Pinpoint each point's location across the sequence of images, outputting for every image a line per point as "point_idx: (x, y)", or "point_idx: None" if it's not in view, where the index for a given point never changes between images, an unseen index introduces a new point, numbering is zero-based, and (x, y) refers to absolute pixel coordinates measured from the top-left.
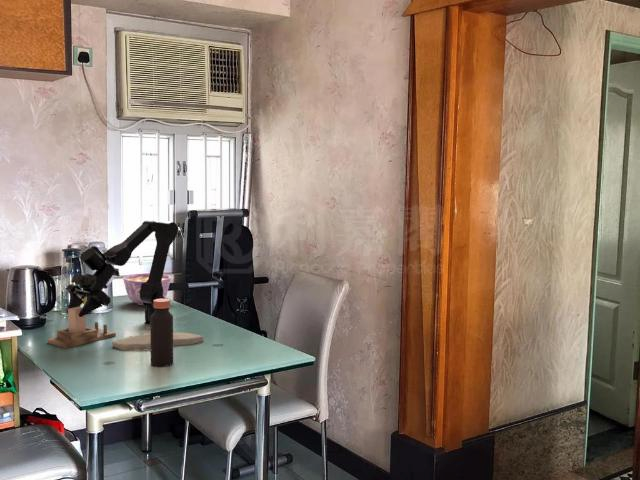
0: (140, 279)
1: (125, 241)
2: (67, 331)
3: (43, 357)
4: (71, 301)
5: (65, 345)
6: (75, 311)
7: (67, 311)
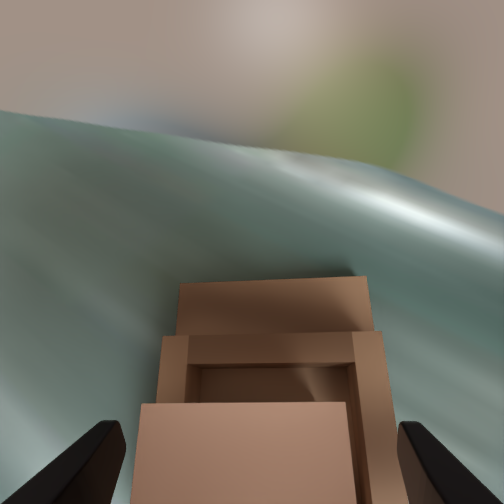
0: None
1: None
2: (357, 416)
3: (144, 156)
4: None
5: (182, 287)
6: (147, 409)
7: (404, 434)
